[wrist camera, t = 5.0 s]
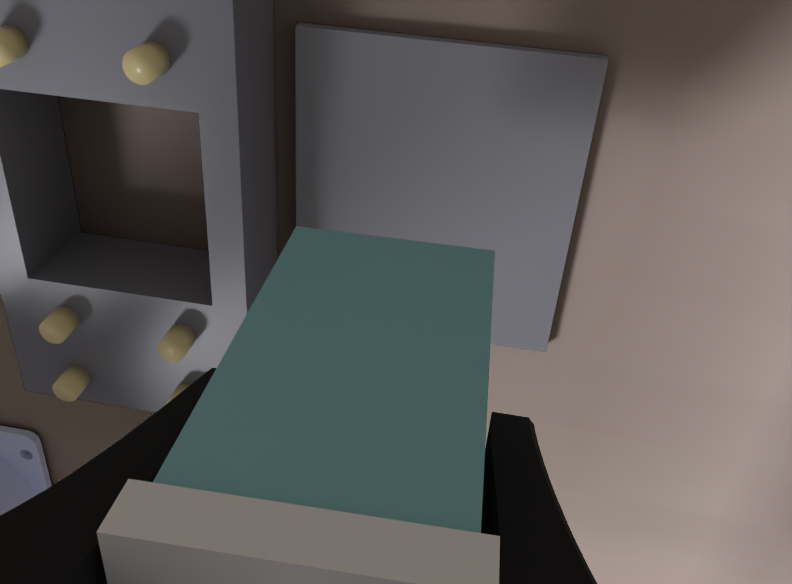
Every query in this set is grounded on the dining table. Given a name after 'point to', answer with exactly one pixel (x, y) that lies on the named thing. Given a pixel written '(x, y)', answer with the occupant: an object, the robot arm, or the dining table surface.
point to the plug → (331, 431)
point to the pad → (450, 153)
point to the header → (117, 257)
